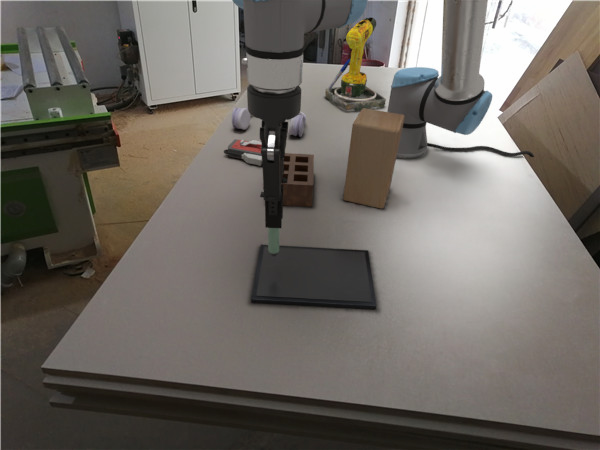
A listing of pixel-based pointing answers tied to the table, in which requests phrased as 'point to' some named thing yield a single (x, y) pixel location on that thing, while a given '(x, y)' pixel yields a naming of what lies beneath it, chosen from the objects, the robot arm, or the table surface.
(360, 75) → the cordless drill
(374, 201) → the wooden block
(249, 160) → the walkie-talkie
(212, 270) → the table surface
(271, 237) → the stylus
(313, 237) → the table surface
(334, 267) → the tablet
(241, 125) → the headphones
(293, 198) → the pen block
